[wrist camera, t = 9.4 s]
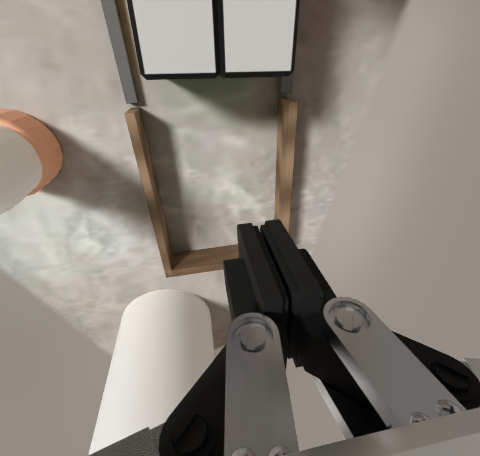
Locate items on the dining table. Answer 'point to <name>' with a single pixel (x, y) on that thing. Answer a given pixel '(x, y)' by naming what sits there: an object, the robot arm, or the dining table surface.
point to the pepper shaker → (25, 157)
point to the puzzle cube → (214, 38)
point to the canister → (153, 363)
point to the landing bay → (123, 59)
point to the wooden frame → (171, 261)
